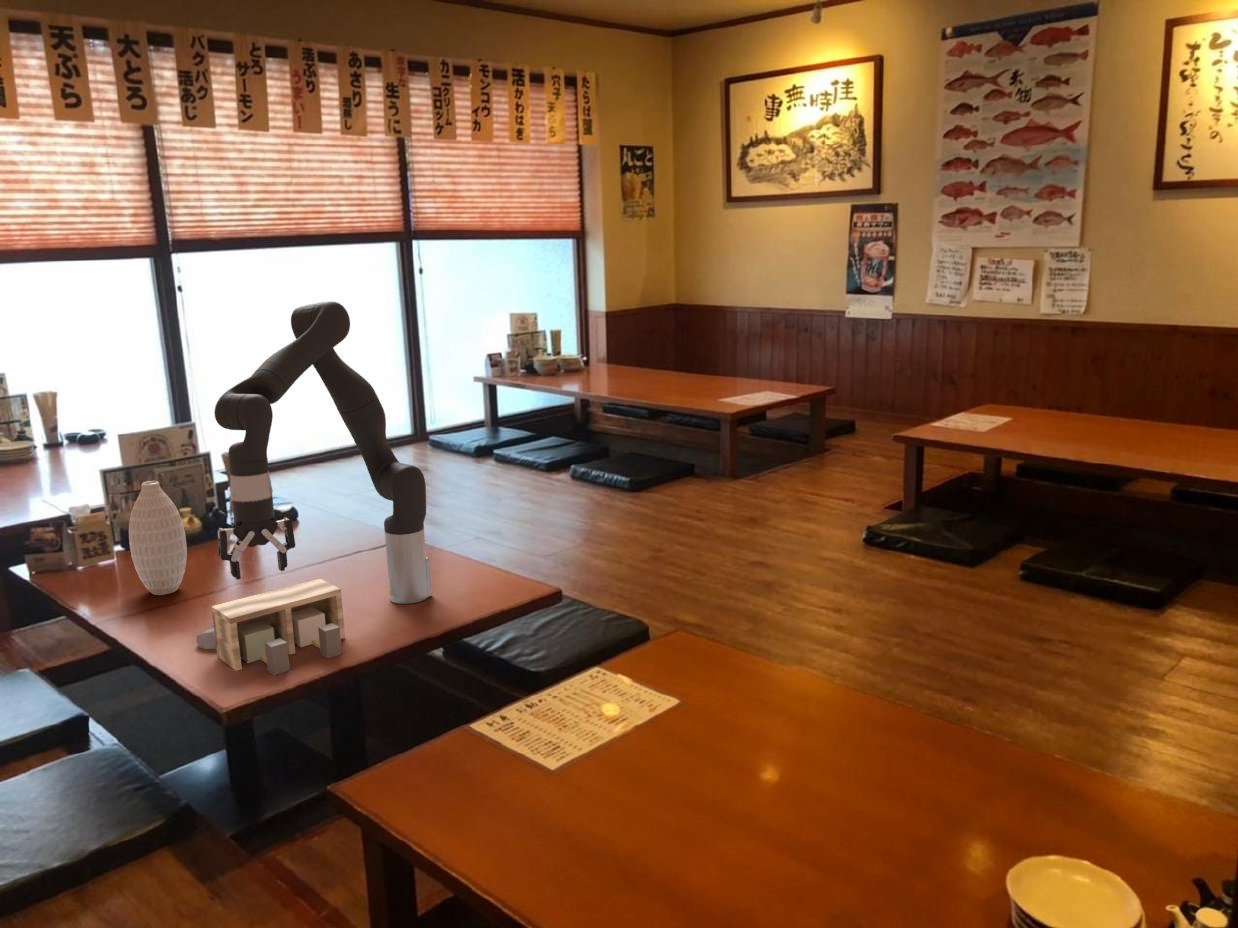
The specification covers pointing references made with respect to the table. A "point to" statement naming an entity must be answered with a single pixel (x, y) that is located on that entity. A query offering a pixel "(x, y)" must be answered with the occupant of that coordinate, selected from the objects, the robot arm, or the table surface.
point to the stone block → (207, 639)
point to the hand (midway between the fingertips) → (259, 574)
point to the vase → (157, 540)
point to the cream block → (316, 631)
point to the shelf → (274, 615)
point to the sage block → (263, 646)
